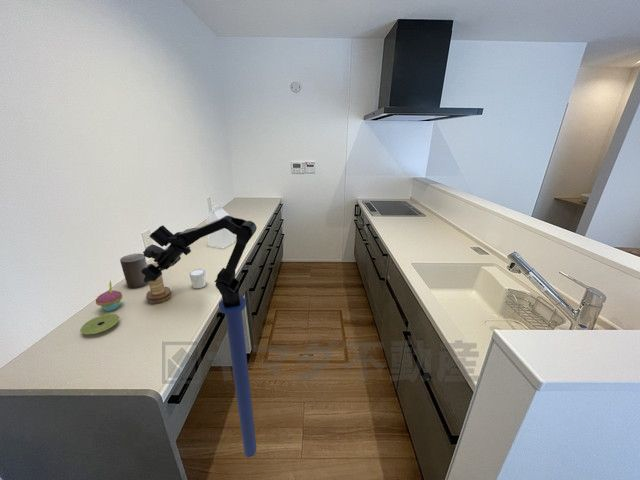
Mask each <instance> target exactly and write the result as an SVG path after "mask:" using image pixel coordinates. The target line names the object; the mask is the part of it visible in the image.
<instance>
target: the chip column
mask: <svg viewBox="0 0 640 480" xmlns="http://www.w3.org/2000/svg"><path fill="white" fill-rule="evenodd" d="M149 264H153V265H154V266H155V267H157V266H158V264H157V262H151V263H149ZM149 264H148V263H147V265H149ZM147 265H146V266H147ZM146 266H145V267H146ZM159 269H160V268H159ZM148 286H149V291H150V290H151V294H152V295H160V294H162V293H164V292H165V287H166V286H165V283H164V278H163V274H162V275H161V276H160V277H159V278H158V279H157V280H155V281H150V282H149V284H148Z"/></svg>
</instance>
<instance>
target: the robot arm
mask: <svg viewBox="0 0 640 480" xmlns="http://www.w3.org/2000/svg"><path fill="white" fill-rule="evenodd" d="M224 228H225V229H227V230H229V231H230V232H232V233H233V235H236V237H235V245H234V247H233V250H232V252H231V254H230V256H229V259H228V262H227V263H226V266H225V267H222V268H221V270H219V272H218V273H217V276H216V279H215V280H214V283H215V285H214V286H215V288H216V289H217V290H218V291H219V293H220V295H221V300H223V305H224V308H229V307H235V306H240V297H239V296H240V291H239V287H240V284H241V281H239V280H238V279H237V278H236V270H237V267H238V266H239V263H240V261H241V258H242V256H243V254H244V251H245V249H246V247H247V245H248V243H249V242H250V241H251V239H252V237H253V236H254V235H255V233H256V231H257V225H256V223H255V222H254V221H252V220H246V219H244V218H238V217H234V216H231V215H230V216H224V217H223V218H221V219H218V220H216V221H214V222H211V223H209V224H206V223H205V224H204V225H201V226H199V227H191V228H187V229H185V230H183V231H177V232H175V233H174V234H173V232H172V231H170V230H169V229H168V228H167V227H166V226H165V225H163V224H162V225H160V226H159V227H158V228H156V229H155V230H154V231H152V232H151V233H150V234H149V238H150V239H151V240H153V241H154V242H155V243H156V244H157V245H156V244H150V245H148V246H147V247H146V248H145V249H144V251H142V254H144V256H145V258H147V259H153V262H154V263H157V264H158V266H157V267H155V266H154V265H153V264H151V263H149V265H148V264H147V266H146V267H144V268H143V269H142V270H141V273H143V274H144V275H145V278H144V282H145V283H147V282H150V281H155V280H157V279H158V278H159V277H160V276H161V275H162V276H163V271H164V270H168V269H170V268H171V267H173V266H175V265H176V264H177V263H179V261H181V259H182V258H181V256H182V255H183V254H184V255H185V256H187V255H189V254H190V253H192V250H191V247H190V246H191V245H193V244H194V243H195V242H197V241H199V240H200V239H201V238H204V237H206V236H207V235H209V234H211V233H214V232H216V231H219V230H221V229H224ZM158 245H159V246H158ZM163 247H166V248H165V249H164V248H163ZM159 268H160V269H159Z"/></svg>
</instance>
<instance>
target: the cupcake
mask: <svg viewBox="0 0 640 480" xmlns="http://www.w3.org/2000/svg"><path fill="white" fill-rule="evenodd" d="M108 287H109V290H106V291H104V292H103V293H101V294H99V295H98V296H97V298H96V299H95V304H96V305H97V306H100V307H102V308H103V309H104V311H106V312H111V311H115V310H116V309H118V308H119V307H120V303H121V300H122V299H123V294H122V292H121V291H118V290H113V288H112V282H111V280H109V282H108Z"/></svg>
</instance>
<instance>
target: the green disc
mask: <svg viewBox="0 0 640 480" xmlns="http://www.w3.org/2000/svg"><path fill="white" fill-rule="evenodd" d="M119 321H120V316H119V315H118V314H116V313H107V314H103V315H99V316H96V317H93V318H91V319H89V320H88V321H86V322H85V323H84V324H82V326H81V327H80V332H81V334H84V335H94V334H95V335H96V334H98V333H102V332H105V331H107V330H109V329H111V328H112V327H115V325H116V324H117V323H119Z"/></svg>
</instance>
